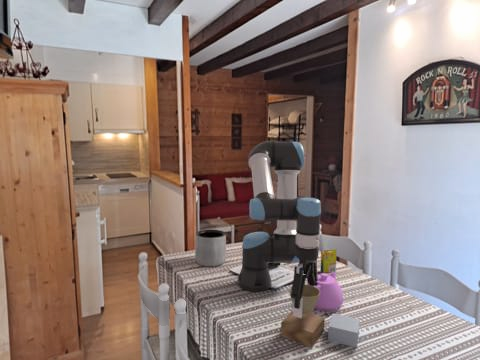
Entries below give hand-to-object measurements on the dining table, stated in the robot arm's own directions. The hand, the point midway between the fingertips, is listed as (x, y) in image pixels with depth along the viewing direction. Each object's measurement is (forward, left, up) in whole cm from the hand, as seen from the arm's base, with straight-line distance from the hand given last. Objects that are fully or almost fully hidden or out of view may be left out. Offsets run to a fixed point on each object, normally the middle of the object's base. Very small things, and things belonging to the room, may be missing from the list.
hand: (303, 309), depth 113 cm
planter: (-66, +34, -9) cm, 75 cm away
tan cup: (0, 0, -1) cm, 0 cm away
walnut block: (0, 0, -9) cm, 9 cm away
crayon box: (-11, +59, -9) cm, 60 cm away
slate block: (+12, +7, -9) cm, 16 cm away
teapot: (-2, +26, -9) cm, 27 cm away
